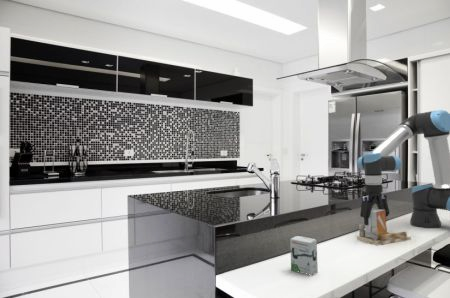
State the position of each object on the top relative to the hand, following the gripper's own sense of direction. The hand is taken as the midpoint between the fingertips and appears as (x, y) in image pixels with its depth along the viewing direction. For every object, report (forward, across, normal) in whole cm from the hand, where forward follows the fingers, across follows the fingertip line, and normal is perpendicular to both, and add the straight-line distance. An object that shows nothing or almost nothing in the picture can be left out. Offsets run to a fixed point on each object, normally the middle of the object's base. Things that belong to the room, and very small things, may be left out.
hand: (375, 230), depth 150 cm
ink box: (+5, +55, +19) cm, 58 cm away
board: (+5, -5, 0) cm, 7 cm away
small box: (+3, 0, 0) cm, 3 cm away
